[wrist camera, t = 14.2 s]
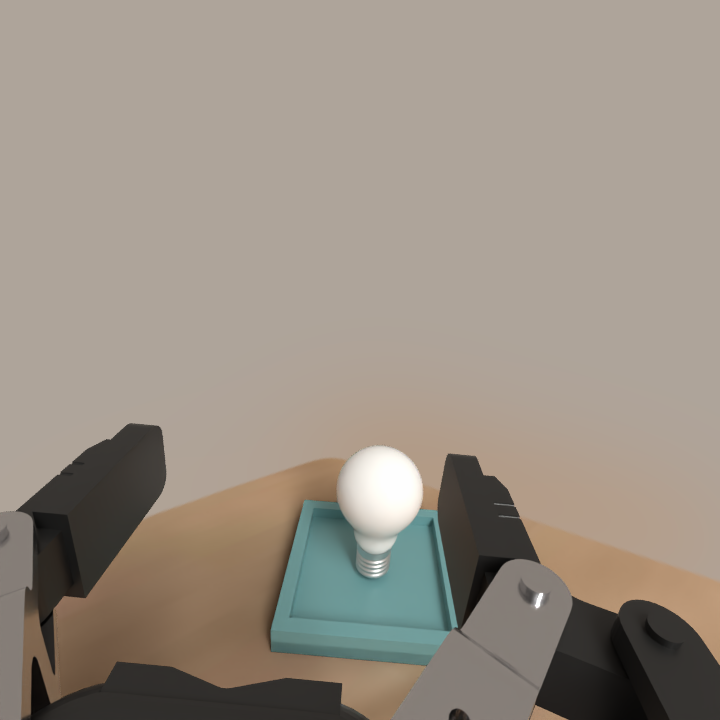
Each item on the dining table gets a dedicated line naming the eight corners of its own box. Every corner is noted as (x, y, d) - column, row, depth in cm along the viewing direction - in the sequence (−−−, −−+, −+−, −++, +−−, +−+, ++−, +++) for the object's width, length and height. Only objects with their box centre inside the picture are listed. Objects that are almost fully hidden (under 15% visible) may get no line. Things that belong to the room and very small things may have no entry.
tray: (270, 651, 28) (270, 630, 27) (304, 516, 40) (304, 499, 40) (465, 669, 28) (470, 647, 27) (439, 528, 40) (442, 510, 39)
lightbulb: (315, 571, 33) (319, 451, 29) (366, 529, 38) (375, 421, 34) (378, 623, 29) (392, 493, 26) (426, 569, 34) (444, 452, 30)
